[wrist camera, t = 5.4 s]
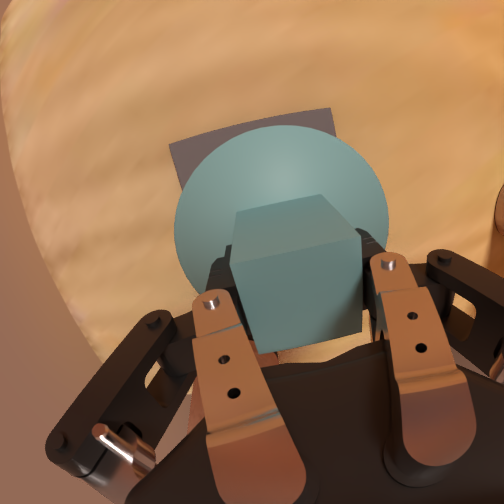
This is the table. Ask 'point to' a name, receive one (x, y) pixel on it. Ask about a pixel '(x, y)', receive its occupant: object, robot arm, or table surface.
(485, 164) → the table surface
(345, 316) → the lid
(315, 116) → the mat
